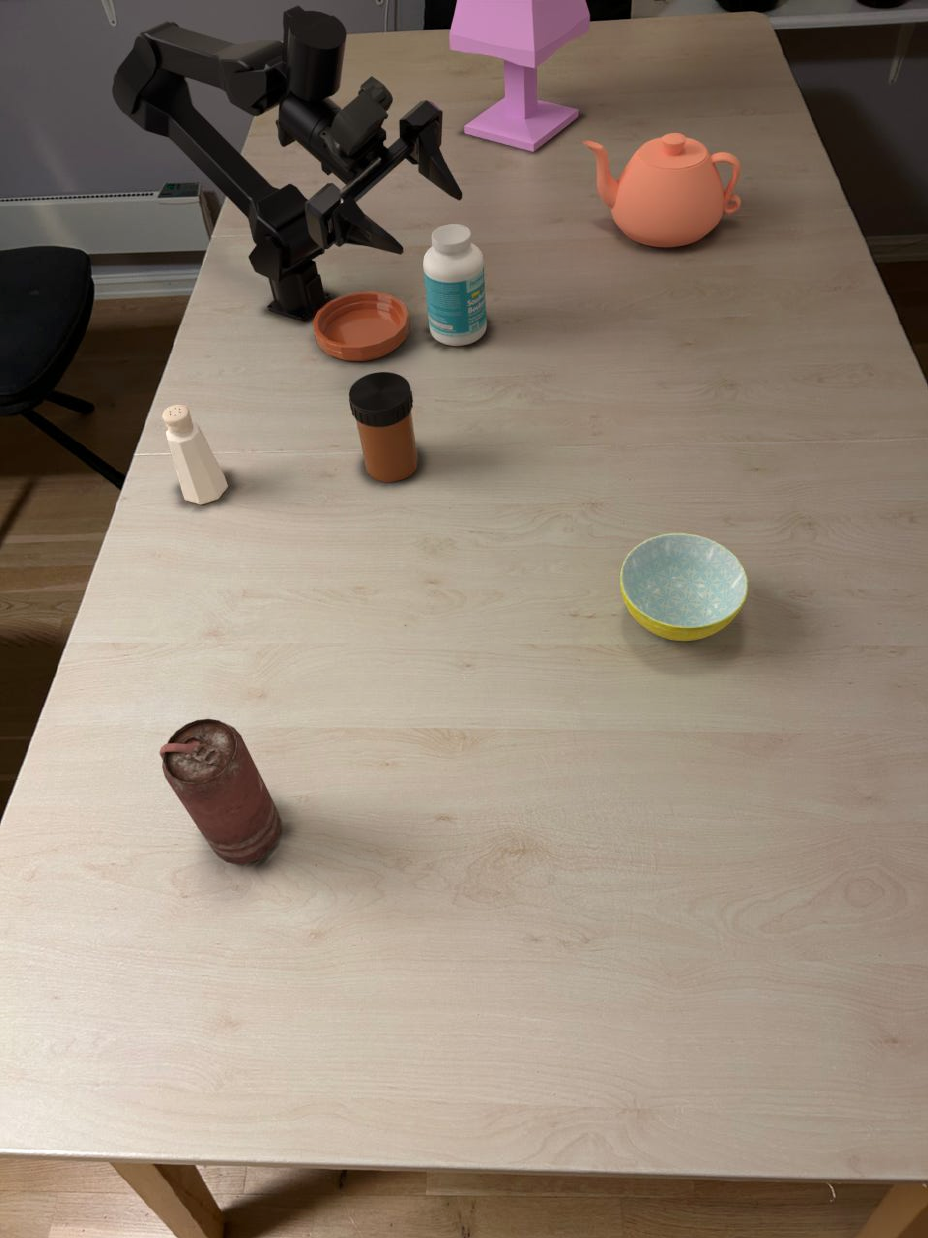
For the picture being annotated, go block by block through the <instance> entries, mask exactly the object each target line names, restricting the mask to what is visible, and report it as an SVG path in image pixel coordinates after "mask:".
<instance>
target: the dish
mask: <svg viewBox="0 0 928 1238" xmlns="http://www.w3.org/2000/svg"><path fill="white" fill-rule="evenodd" d="M406 306H407V305H406V304H405V303H404V302H403V301H401V300H400V299H399V298H397V297H396V296H394V295H391V294H389V293H385V292H382V291H365V290H364V291H363V290H362V291H355V292H351V293H346V294H343V295H340V296H338V297H336V298H334V299H332V300H328V301H327V302H326V303H325V304H324V305H323V306H321V307H320V308H319V309H318V310H317V311H316V314H315V317H314V319H313V321H312V327H313V331H314V335H315V339H316V343H317V346H318V347H319V348H320V349H321V350H323V351H324V352H325V353H326V354H327V355H329V356H332V357H335V358H337V359H340V360H343V361H350V362H363V361H364V362H365V361H370V360H375V359H379V358H382V357H384V356H386V355H388V354H390V353H392V352H393V351H395V350H396V349H398V348H399V347H400V346H401V345H402V344H403V343H404V342H405V340H407V338H408V335H409V332H410V328H411V322H410V315H409V312H408V309H407V307H406Z"/></svg>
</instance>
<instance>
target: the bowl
mask: <svg viewBox="0 0 928 1238" xmlns="http://www.w3.org/2000/svg"><path fill="white" fill-rule="evenodd" d="M619 582H620V584H619V585H620V591H621V595H622V600H623V602H624V604H625V606H626V608H627V610H628V612H629V613H630V614H631V616H632V617H633V618H634V620H635V621H636V622H637V623H638V624H639V625H640V626H641V627H642V628H644V629H646V630H647V631H648V632H649V633H651V634H653V635H655V636H657V637H660V638H662V639H666V640H670V641H678V642H690V641H697V640H701V639H705V638H709V637H710V636H713V635H714V634H716V633H718V632H720V631H721V630H723V629H724V628H725V627H727V626H728V625H729V624H730V623H731V622H732V621H733V620H734V619H735V618H736V616H737V615H738V614H739V612H740V611H741V609H742V608H743V606H744V604H745V602H746V599H747V596H748V592H749V580H748V575H747V572H746V569H745V568H744V566H743V564H742V562H741V561H740V559H739V558H738V557H737V556H736V555H735V553H733V552H732V551H731V550H729V549H728V548H727V547H726V546H724V545H723V544H721V543H720V542H717V541H715V540H713V539H711V538H708V537H705V536H702V535H700V534H699V535H698V534H695V533H694V534H693V533H687V532H671V533H670V532H669V533H663V534H658V535H656V536H653V537H649V538H647V539H645V540H643V541H641V542H640V543H639V544H637V545H636V546H634V547H633V548H632V549H631V550H630V552H629V553H628V554H627V555H626V556H625V558H624V560H623V562H622V564H621V567H620V573H619Z"/></svg>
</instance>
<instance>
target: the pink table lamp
mask: <svg viewBox="0 0 928 1238" xmlns="http://www.w3.org/2000/svg"><path fill="white" fill-rule="evenodd" d="M590 21H591V14H590V11H589V8H588V5H587V1H586V0H456V5H455V9H454V15H453V18H452V22H451V27H450V31H449V35H448V36H449V39H448V40H449V49H450V50H452V51H456V52H461V53H464V54H475V55H484V56H485V55H486V56H490V57H494V58H499V59H502V60H503V77H504V78H503V80H504V83H503V84H504V97H503V98H501V99H500V100H499V101H497V102H495V103H494V104H492V105H491V106H490V107H488V108H487V109H486V110H484V111H483V112H481V113H480V114H479V115H478V116H476V117H474V118H473V119H472V120H471V121H469V122H468V123H467V124H465V125H464V126H463V128H464V129H463V131H464V133H463V134H466V135H470V136H473V137H477V138H481V139H484V140H487V141H491V142H496V143H498V144H503V145H507V146H511V147H514V148H517V149H521V150H525V151H530V152H532V153H533V152H535V151H537V150H538V149H539V148H541V147H542V146H543V145H544V144H546V143H547V142H548V141H549V140H551V139H552V138H553V137H554V136H556V135H557V134H559V133H560V132H561V131H562V130H563V129H565V128H566V127H568V126H569V125H570V124H571V123H572V122H574V121H575V120H577V118H579V108H574V107H570V106H566V105H562V104H557V103H554V102H550V101H545V100H541V99H538V67H539V66H540V65H542V64H543V63H545V62H546V61H547V60H548V59H549V58H551V56H552V55H554V54H555V53H556V52H557V51H558V50H559V49H560V48H562V47H564V46H565V45H566V44H568V43H569V42H572V41H574V40H576V39H578V38H580V37H581V36H583V35H585V34H586V33H587V32H589V31H590V28H591V27H590V26H591V24H590Z"/></svg>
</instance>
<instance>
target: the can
mask: <svg viewBox="0 0 928 1238" xmlns="http://www.w3.org/2000/svg"><path fill="white" fill-rule="evenodd" d="M158 752H159V755H160V756H159V757H160V758H161V759H162V764H161V769H162V772H163V775H164V778H165V780H166V782H167V783H168V784H169V786H170V787H171V789H172V790H173V792H174V794H175V795H176V797H177V798H178V800H179V801H180V803H181V804H182V806H183V807H184V809H185V810H186V812H187V814H188V815H189V816H190V818H191V819H192V821H193V823H194V825H196V827H197V828H198V830H199V832H200V833H201V835H202V836H203V838H204V839H205V841H206V842H207V844H208V845H209V847H210V848H211V850H212V851H213V852H214V854H215V855H216V857H218V858H219V859H221V860H223V861H225V862H226V863H229V864H235V865H243V864H250V863H252V862H255V861H257V860H260V859H261V858H263V857H264V856H265V855H267V854H268V853H269V852H271V851H272V849H273V848H274V846H275V845H276V843H277V842H278V841H279V838H280V834H281V831H282V818H281V815H280V812H279V810H278V808H277V806H276V804H275V802H274V800H273V798H272V795H271V794H270V792H269V790H268V787H267V786H266V784H265V782H264V779H263V777H262V775H261V773H260V771H259V769H258V767H257V765H256V763H255V761H254V759H253V756H252V754H251V753H250V750H249V749H248V747H247V745H246V742H245V740H244V738H243V737H242V735H241V733H239V731H237V729H236V728H235V727H234V726H232V725H231V724H228V723H226V722H223V721H221V720H220V719H213V718H201V719H195V720H193V721H191V722H188V723H185V724H184V725H183V726H181V727H180V728H178V729H177V730H176V731H175V732H174V733H173V734H172V735H171V737H170V738H169V739H168V740H167V743H165V744H163V745H162V746H161V747H160V749H159V751H158Z"/></svg>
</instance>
